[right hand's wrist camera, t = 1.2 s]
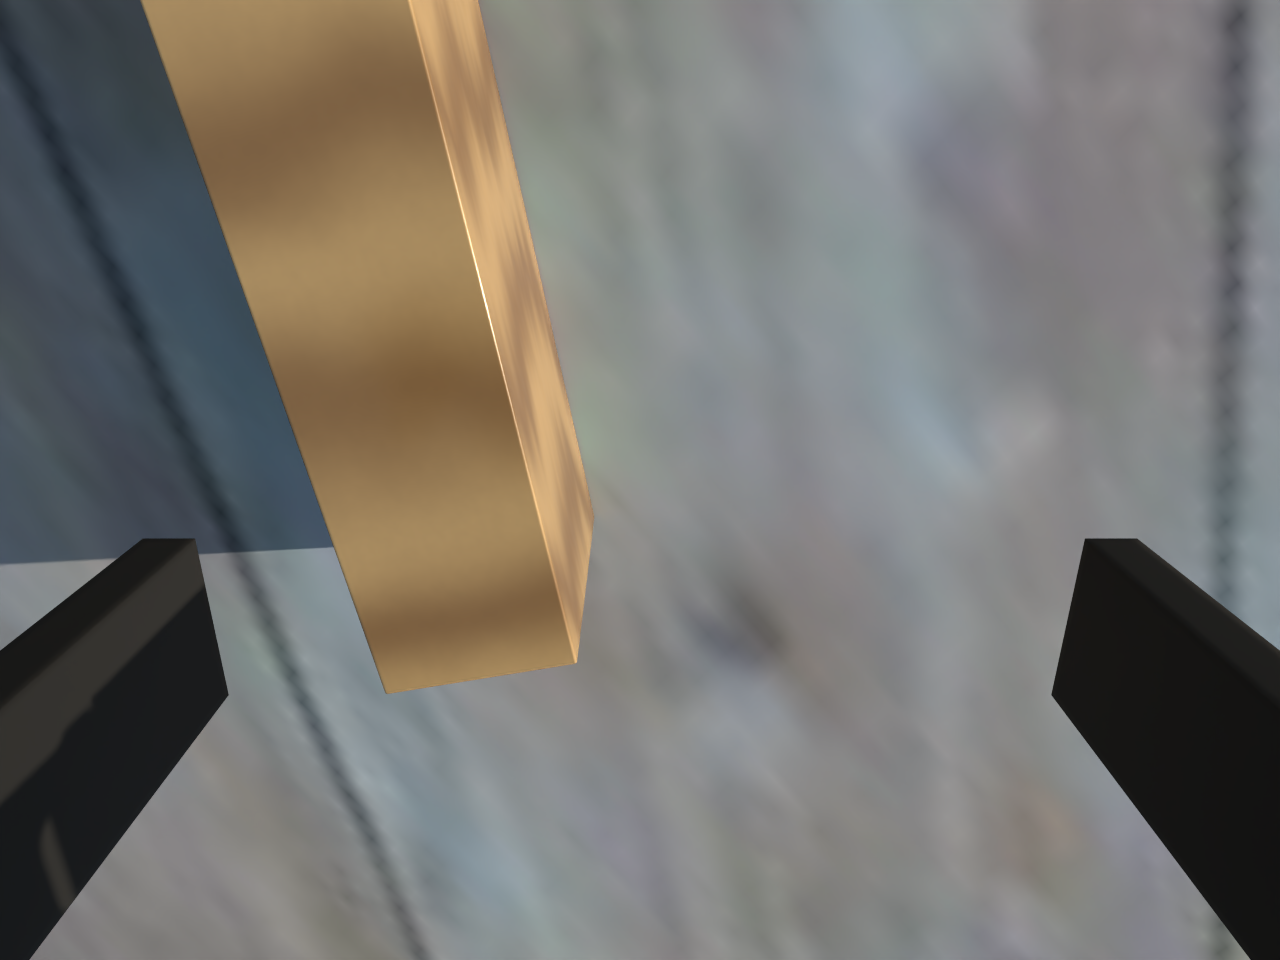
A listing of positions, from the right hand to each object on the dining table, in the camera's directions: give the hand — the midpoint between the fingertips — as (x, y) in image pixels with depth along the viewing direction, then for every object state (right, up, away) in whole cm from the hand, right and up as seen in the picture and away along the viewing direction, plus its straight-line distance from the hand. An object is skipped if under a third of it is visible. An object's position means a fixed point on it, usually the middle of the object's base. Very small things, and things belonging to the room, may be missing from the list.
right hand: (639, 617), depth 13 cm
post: (-10, +31, +4) cm, 33 cm away
